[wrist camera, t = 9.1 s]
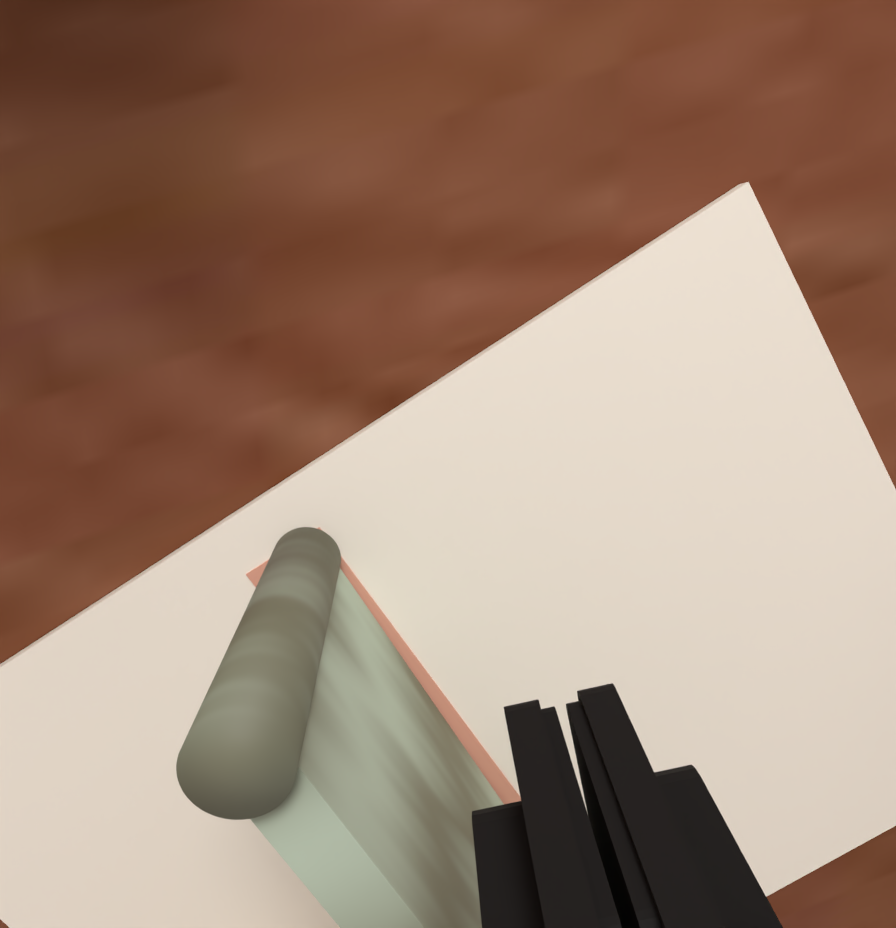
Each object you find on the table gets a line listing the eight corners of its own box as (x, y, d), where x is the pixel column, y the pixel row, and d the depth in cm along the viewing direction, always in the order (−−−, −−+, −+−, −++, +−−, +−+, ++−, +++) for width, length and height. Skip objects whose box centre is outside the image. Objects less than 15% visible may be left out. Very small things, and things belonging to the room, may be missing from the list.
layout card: (738, 184, 18) (749, 181, 17) (1010, 745, 23) (1024, 756, 22) (-147, 759, 20) (-161, 772, 20) (271, 1151, 25) (269, 1170, 25)
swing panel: (542, 842, 22) (625, 1178, 14) (491, 869, 22) (544, 1217, 14) (317, 514, 19) (252, 698, 11) (259, 548, 19) (151, 755, 11)
